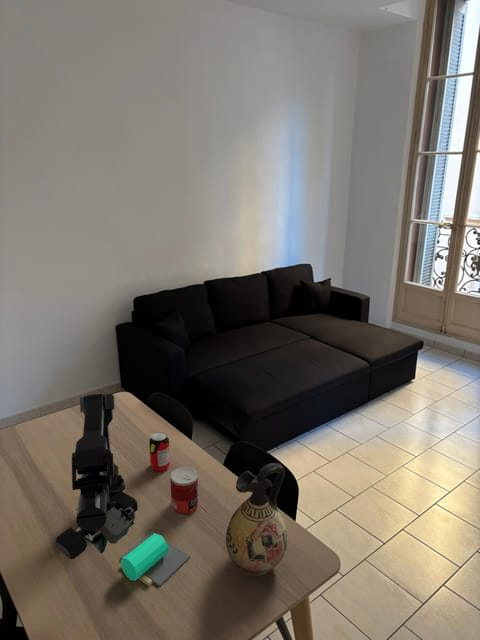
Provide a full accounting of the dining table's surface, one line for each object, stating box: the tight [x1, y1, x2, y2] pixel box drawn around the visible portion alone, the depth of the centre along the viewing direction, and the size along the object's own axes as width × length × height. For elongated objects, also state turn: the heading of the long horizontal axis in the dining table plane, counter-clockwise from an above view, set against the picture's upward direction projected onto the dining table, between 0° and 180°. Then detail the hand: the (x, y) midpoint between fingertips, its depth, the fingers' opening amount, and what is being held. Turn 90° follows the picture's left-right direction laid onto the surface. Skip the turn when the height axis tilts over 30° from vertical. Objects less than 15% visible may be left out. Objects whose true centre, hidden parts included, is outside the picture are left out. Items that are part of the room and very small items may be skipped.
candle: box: [120, 532, 168, 582], centre depth 121 cm, size 6×6×12 cm
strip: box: [137, 574, 153, 588], centre depth 119 cm, size 10×1×1 cm, turn 54°
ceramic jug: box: [225, 462, 288, 577], centre depth 118 cm, size 17×15×30 cm
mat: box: [120, 531, 191, 588], centre depth 124 cm, size 14×11×1 cm
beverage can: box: [149, 431, 171, 472], centre depth 157 cm, size 6×6×12 cm
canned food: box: [169, 466, 199, 515], centre depth 140 cm, size 8×8×11 cm
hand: (101, 551), depth 110 cm, fingers closed
